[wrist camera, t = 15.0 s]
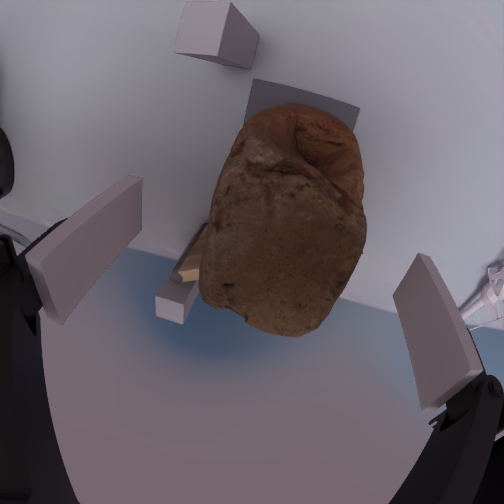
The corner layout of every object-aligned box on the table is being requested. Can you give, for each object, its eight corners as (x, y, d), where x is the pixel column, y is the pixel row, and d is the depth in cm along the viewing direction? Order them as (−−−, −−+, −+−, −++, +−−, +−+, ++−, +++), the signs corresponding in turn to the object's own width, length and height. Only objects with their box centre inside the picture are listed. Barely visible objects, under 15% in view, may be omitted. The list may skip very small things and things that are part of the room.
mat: (229, 194, 32) (229, 195, 32) (253, 78, 24) (253, 78, 24) (322, 219, 31) (322, 221, 31) (359, 108, 24) (359, 108, 24)
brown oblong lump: (310, 207, 31) (309, 359, 14) (246, 185, 31) (174, 317, 14) (346, 118, 25) (426, 173, 8) (275, 92, 24) (217, 92, 8)
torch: (419, 294, 45) (533, 240, 24) (429, 340, 41) (548, 297, 21) (402, 297, 42) (530, 236, 21) (412, 347, 39) (548, 302, 18)
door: (199, 224, 34) (166, 273, 26) (345, 194, 29) (361, 240, 21) (207, 241, 35) (177, 293, 27) (349, 214, 30) (364, 266, 22)
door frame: (193, 252, 37) (156, 315, 27) (230, 31, 21) (185, 0, 12) (214, 258, 37) (182, 324, 27) (259, 35, 21) (230, 1, 11)
